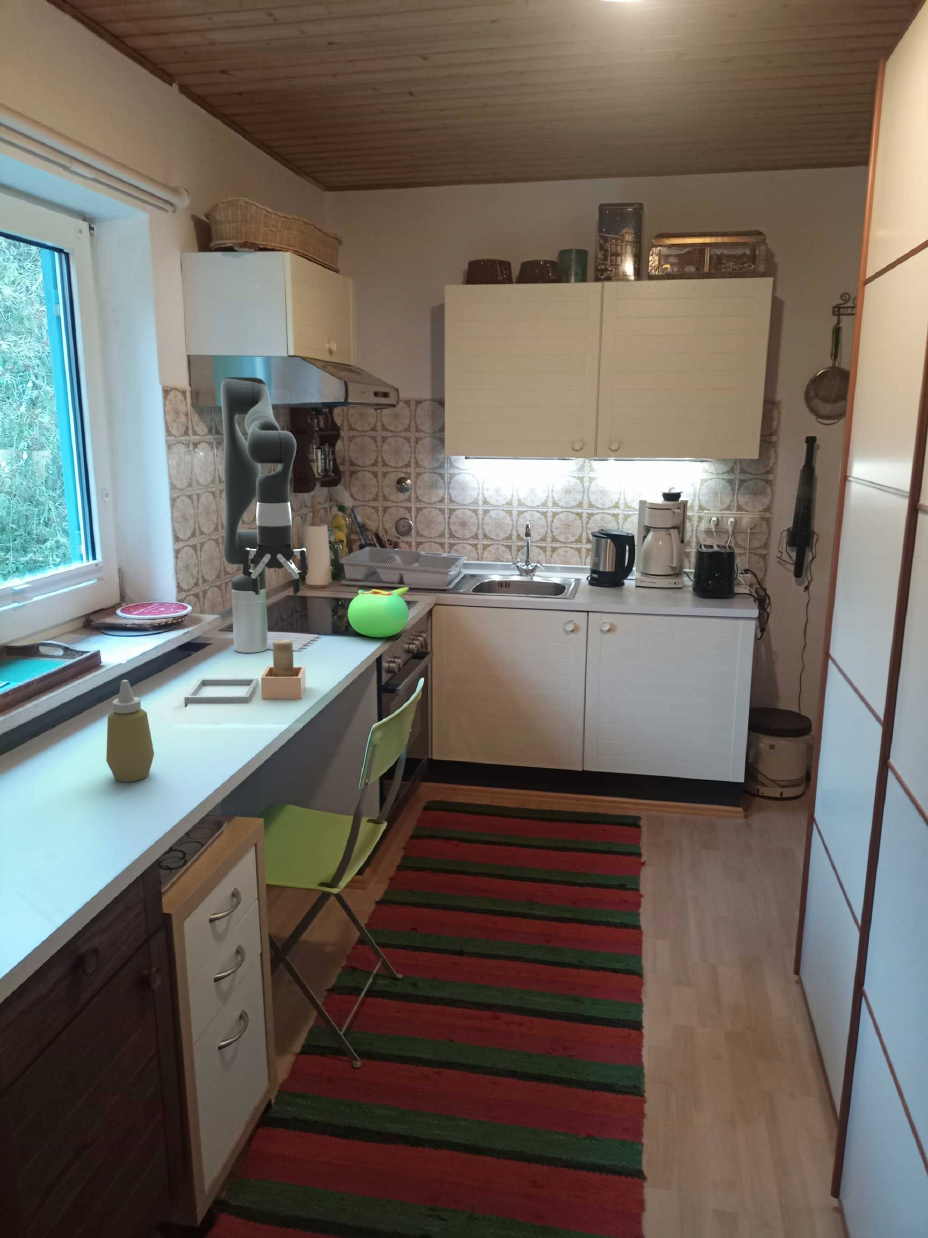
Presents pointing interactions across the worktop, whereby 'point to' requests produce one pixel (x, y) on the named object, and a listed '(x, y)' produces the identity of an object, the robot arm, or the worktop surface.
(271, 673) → the terracotta box
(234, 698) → the slate tray
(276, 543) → the robot arm
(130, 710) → the squeeze bottle
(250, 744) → the worktop surface
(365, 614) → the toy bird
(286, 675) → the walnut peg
